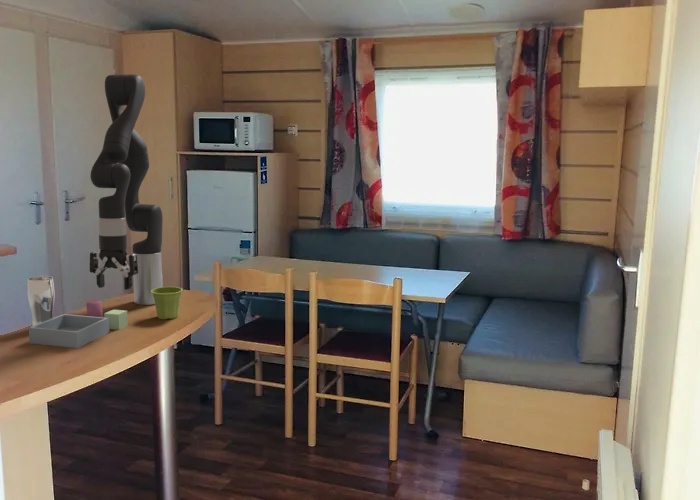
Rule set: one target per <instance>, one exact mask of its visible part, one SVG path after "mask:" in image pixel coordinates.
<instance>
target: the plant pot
mask: <svg viewBox="0 0 700 500" xmlns="http://www.w3.org/2000/svg"><path fill="white" fill-rule="evenodd" d="M182 292H183V288H182V287H179V286H178V287H177V286H163V287H160V288H155V289H153V290H151V293H152V294H153V297H154V300H155V304H154V305H155V311H156V316H157V318H158V319H160V320H168V319H176V318H177V317H179V307H180V299H181V296H182Z"/></svg>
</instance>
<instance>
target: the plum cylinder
mask: <svg viewBox="0 0 700 500" xmlns="http://www.w3.org/2000/svg"><path fill="white" fill-rule="evenodd" d="M103 312H104V311H103V301H102V300H90V301H87V302H86V316H92V317H103V318H104V315H103Z"/></svg>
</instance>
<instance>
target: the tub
mask: <svg viewBox="0 0 700 500" xmlns="http://www.w3.org/2000/svg"><path fill="white" fill-rule="evenodd" d="M109 333H110V329H109V318H105V317H104V316H103V317H92V316H87V315H79V314H68V313H63V314H61V315H57V316H55V317H53V318H52V319H50V320H47V321H44V322H42V323H39V324H37V325H34V326H32V325H31V326H30V327H28V339H29V340H28V342H29V344H33V345H34V344H35V345H45V346H54V347H64V348H73V349H79V348H81V347H83V346H85V345H88V344H89V343H92V342H94V341H95V340H97V339H99V338H101V337H103V336H105V335H107V334H109Z"/></svg>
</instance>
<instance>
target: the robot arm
mask: <svg viewBox="0 0 700 500" xmlns="http://www.w3.org/2000/svg"><path fill="white" fill-rule="evenodd" d="M104 93H105V96H106V102H107V105H108V106H107V107H108V110H109V114H110V117H111V124H110V125H109V127H108V128H107V130H106V132H105V136H104V140H103V145H102V149H101V152H100V153H99V155H98V157H97V158H96V160H95V162H94V164H93V165H92V168H91V170H90V175H89V176H90V181H91V184H92V185H94V187H95V188H98V189H115V192H114V194H113V195H112V194H111V195H107V196H102V197H100V198H99V199H98V247H99V251H97V250H96V251H92V252H90V253H89V272H90V273H92V274H94V275H95V276H96V285H97V287H98V288H99V289H101V288H105V285H106V282H105V274H104V273H105V271H106V270H107V269H112V268H113V269H118V270H119V271H120V272H121V273H122V275H123V276H124V277H123V280H124V281H123V282H124V284H123V285H124V290H125V291H126V290H130V289H131V288H132V286H133V300H134V301H133V302H134V304H136V305H142V306H145V305H146V306H148V305H155V300H154V297H153V294H152V293H151V290H153V289H155V288H160V287H164V285H163V283H164V282H163V281H164V280H163V279H164V278H163V270H162V268H163V267H162V266H163V264H162V263H163V261H162V245H163V222H164V221H163V220H164V219H163V211H162V209H161V207H160V206H159V205H158V204H148V203H147V204H146V203H144V204H143V203H140V200H139V199H140V198H139V192H140V188H141V186H142V183H143V181H144V179H145V177H146V175H147V173H148V171H149V169H150V159H149V152H148V147H147V144H146V141H144V139H143V138H142V136H141V135H140V134H139V133H138V132H137V130H136V129H135V126H136V123H137V120H138V118H139V115H140V112H141V110H142V107H143V104H144V101H145V98H146V97H145V96H146V85H145V82H144V80H143V78H142V77H141V76H140V75H138V74H129V73H128V74H108V75H107V76H106V77H105V80H104ZM123 106H125V109H124V107H123ZM127 227H128V229H129V230H130V231H131V232H140V233H141V232H142V233H147V235H146V238H144V239H143V240H140V241H137V242H134V243H133V244H132V249H131V250H132V254H128V253H127V249H128V243H127V242H128V241H127V240H128V239H127ZM99 259H100V261H101V262H100V263H99Z"/></svg>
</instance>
